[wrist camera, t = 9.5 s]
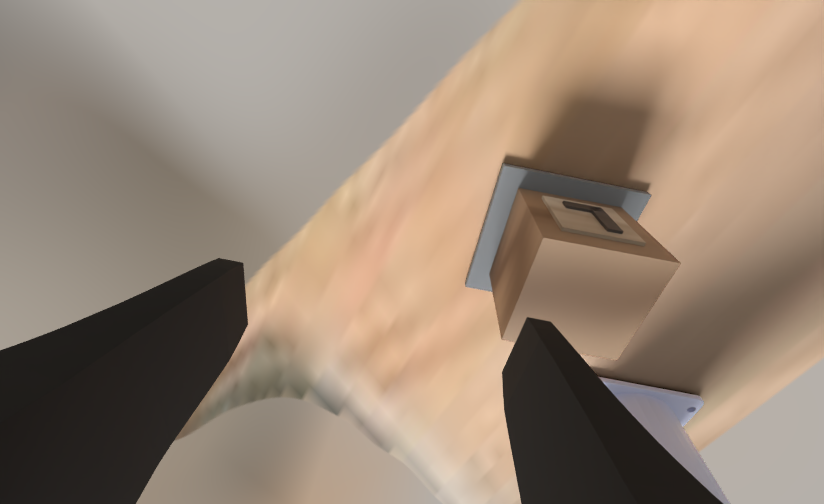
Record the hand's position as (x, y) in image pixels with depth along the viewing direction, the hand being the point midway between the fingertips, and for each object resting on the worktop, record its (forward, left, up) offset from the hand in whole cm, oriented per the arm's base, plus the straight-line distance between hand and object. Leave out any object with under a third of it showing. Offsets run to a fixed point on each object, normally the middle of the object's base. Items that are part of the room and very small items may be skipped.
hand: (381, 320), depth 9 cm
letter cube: (-1, -8, -10) cm, 12 cm away
